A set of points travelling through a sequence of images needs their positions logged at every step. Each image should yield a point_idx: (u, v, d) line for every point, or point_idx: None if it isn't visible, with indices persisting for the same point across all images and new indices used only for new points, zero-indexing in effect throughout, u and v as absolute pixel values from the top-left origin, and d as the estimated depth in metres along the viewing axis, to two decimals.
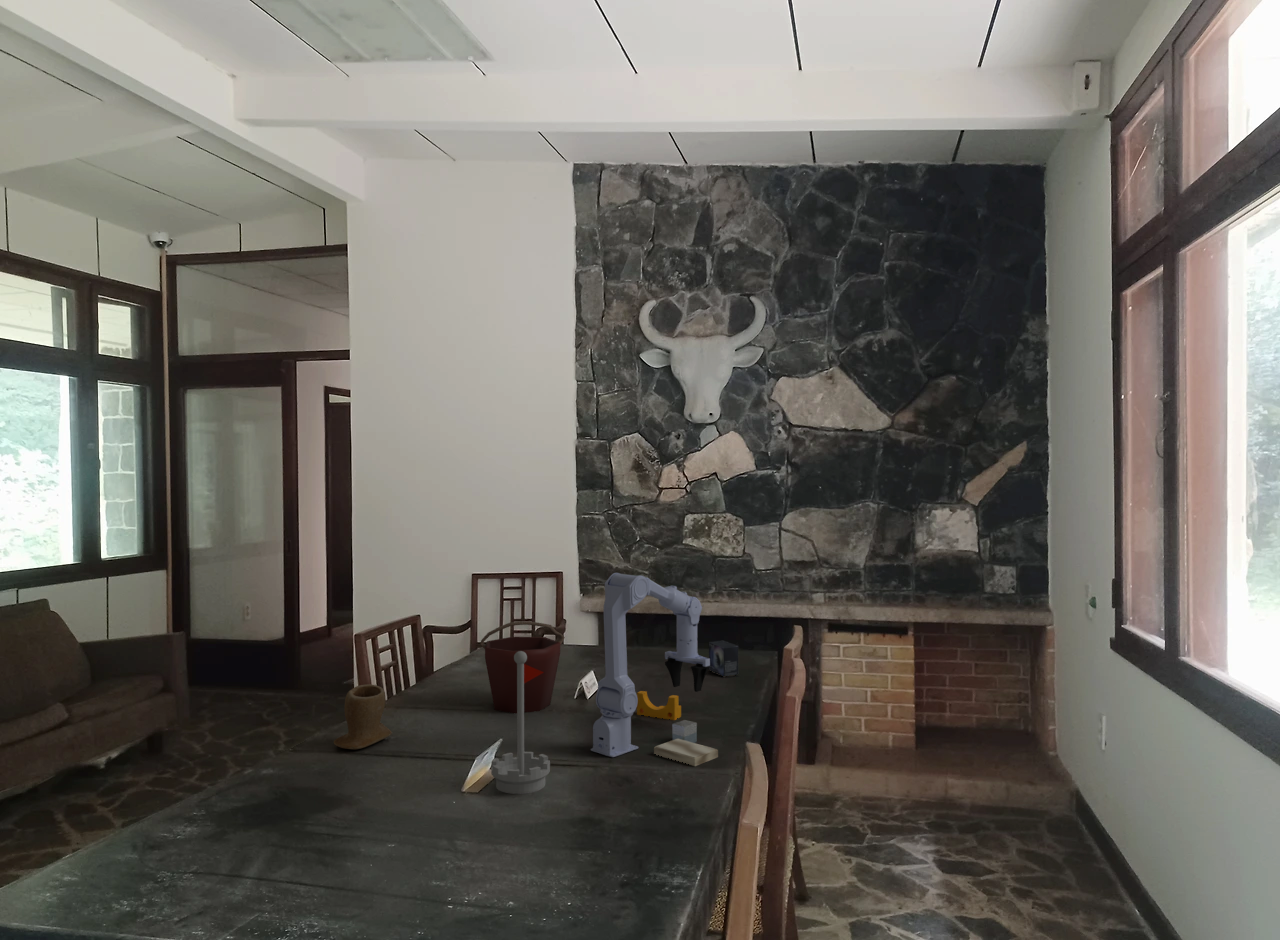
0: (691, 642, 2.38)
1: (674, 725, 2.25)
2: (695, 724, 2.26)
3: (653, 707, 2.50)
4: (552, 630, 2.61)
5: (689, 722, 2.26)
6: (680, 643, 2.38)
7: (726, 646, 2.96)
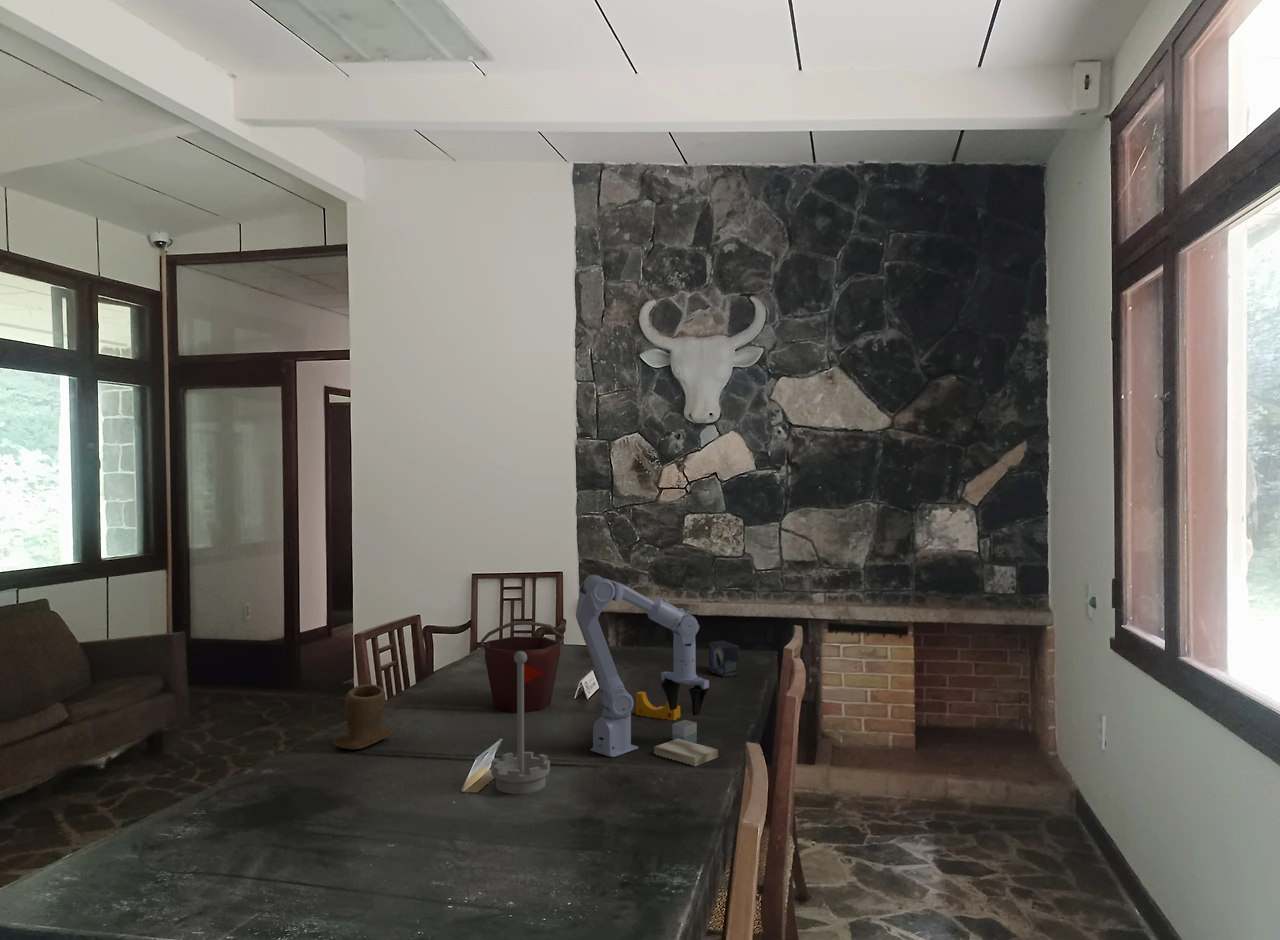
0: (689, 662, 2.23)
1: (674, 725, 2.25)
2: (695, 724, 2.26)
3: (652, 707, 2.49)
4: (552, 630, 2.61)
5: (689, 722, 2.26)
6: (677, 664, 2.24)
7: (726, 646, 2.96)
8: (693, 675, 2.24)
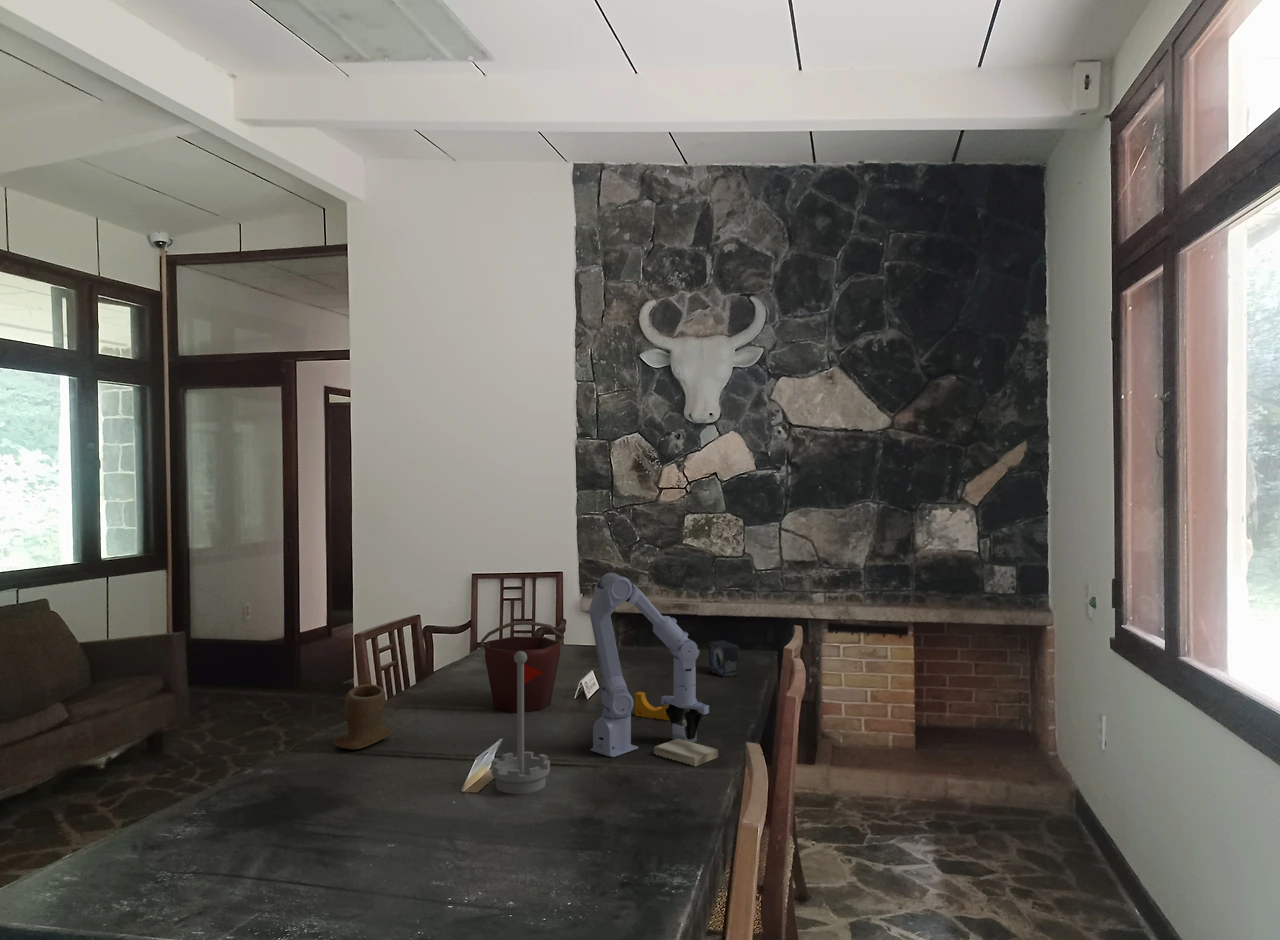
0: (689, 688, 2.23)
1: (674, 725, 2.25)
2: None
3: (651, 708, 2.49)
4: (552, 630, 2.61)
5: None
6: (677, 689, 2.24)
7: (726, 646, 2.96)
8: (693, 700, 2.24)
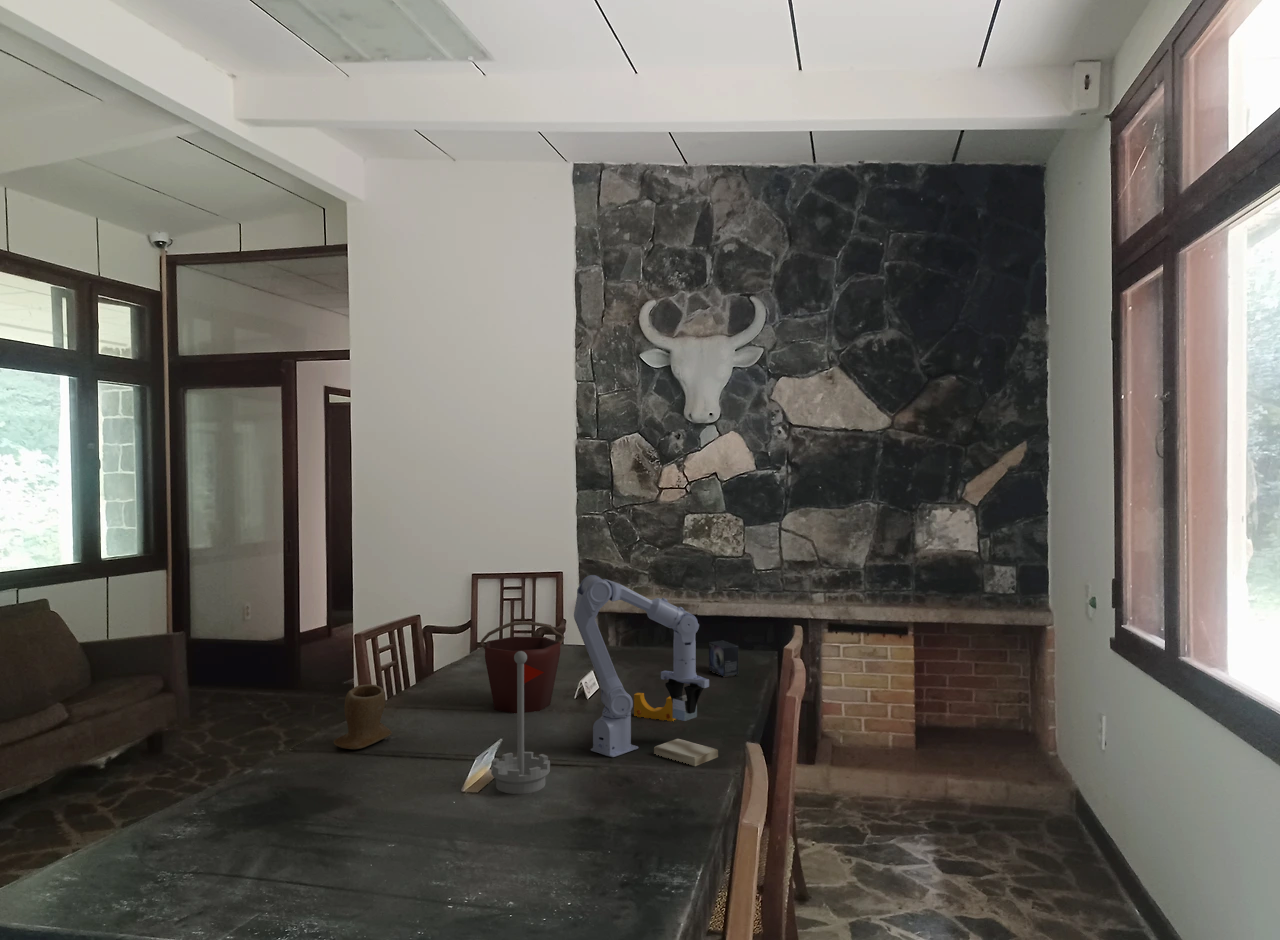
0: (689, 661, 2.22)
1: (674, 700, 2.24)
2: None
3: (650, 708, 2.48)
4: (552, 630, 2.61)
5: None
6: (677, 662, 2.22)
7: (726, 646, 2.96)
8: (693, 674, 2.23)
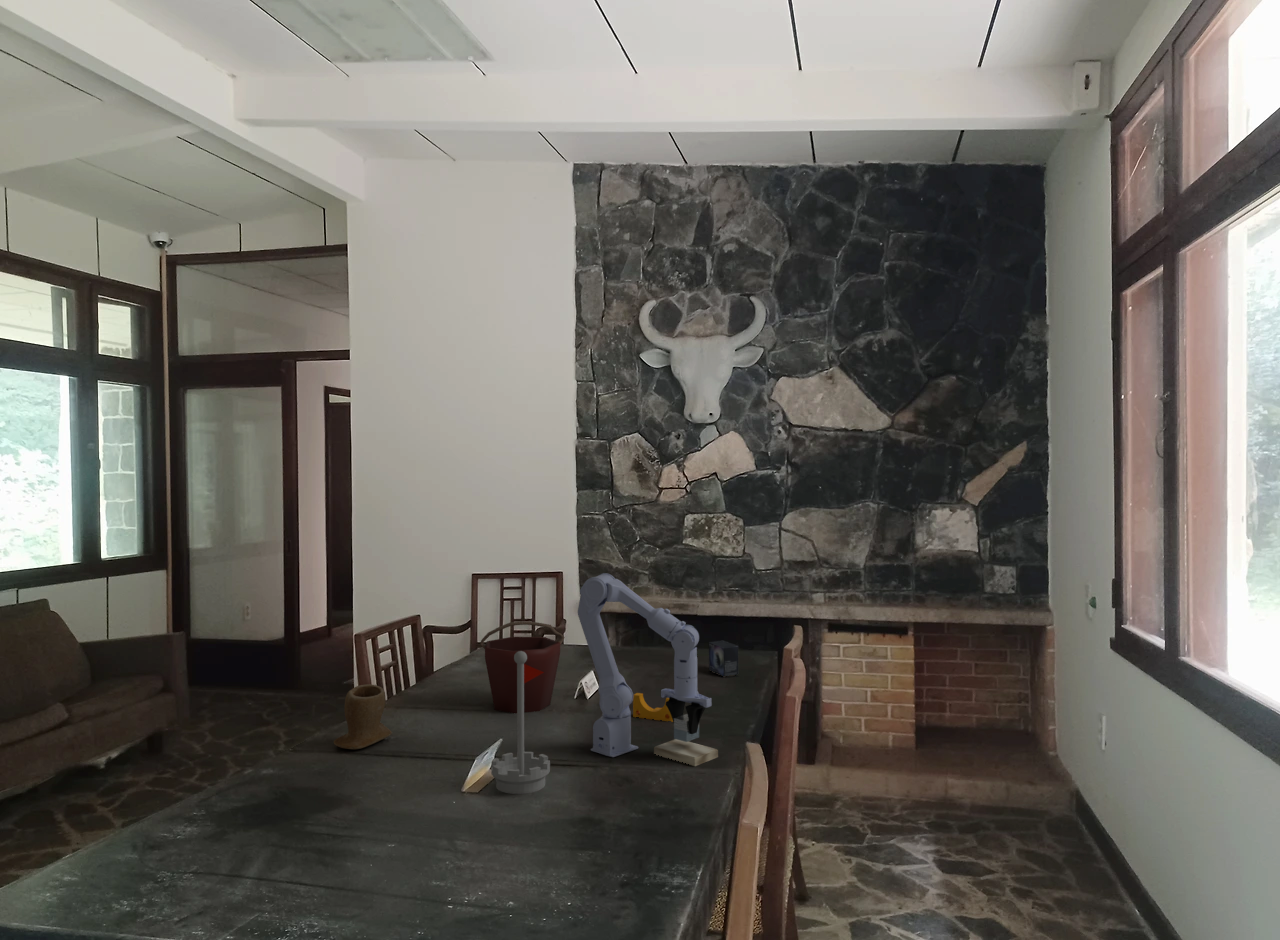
0: (690, 680, 2.12)
1: (676, 719, 2.14)
2: None
3: (649, 709, 2.48)
4: (552, 630, 2.61)
5: None
6: (678, 681, 2.13)
7: (726, 646, 2.96)
8: (695, 693, 2.13)
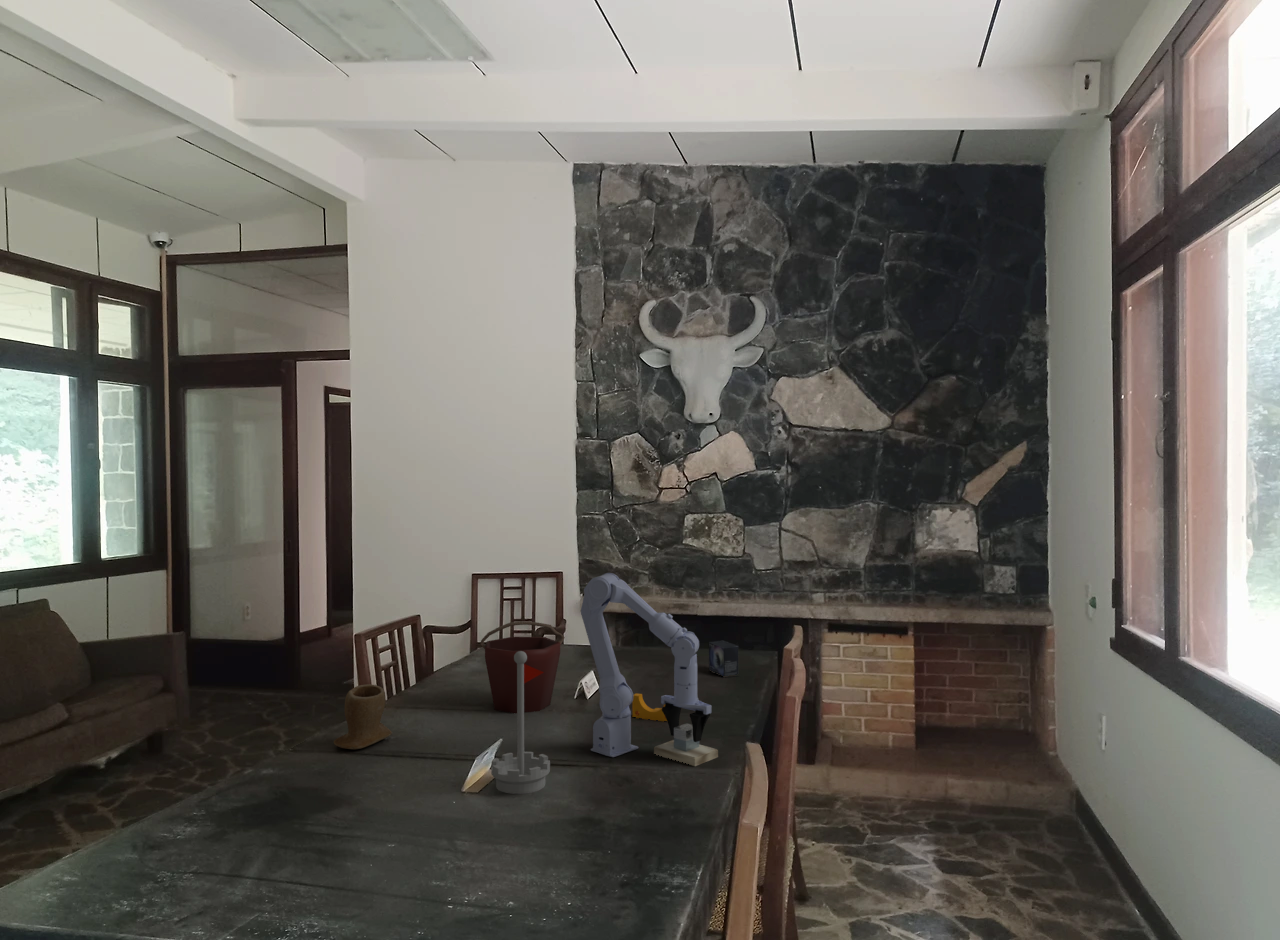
0: (690, 686, 2.12)
1: (675, 729, 2.14)
2: None
3: (648, 709, 2.47)
4: (552, 630, 2.61)
5: (691, 726, 2.16)
6: (678, 687, 2.13)
7: (726, 646, 2.96)
8: (695, 699, 2.13)
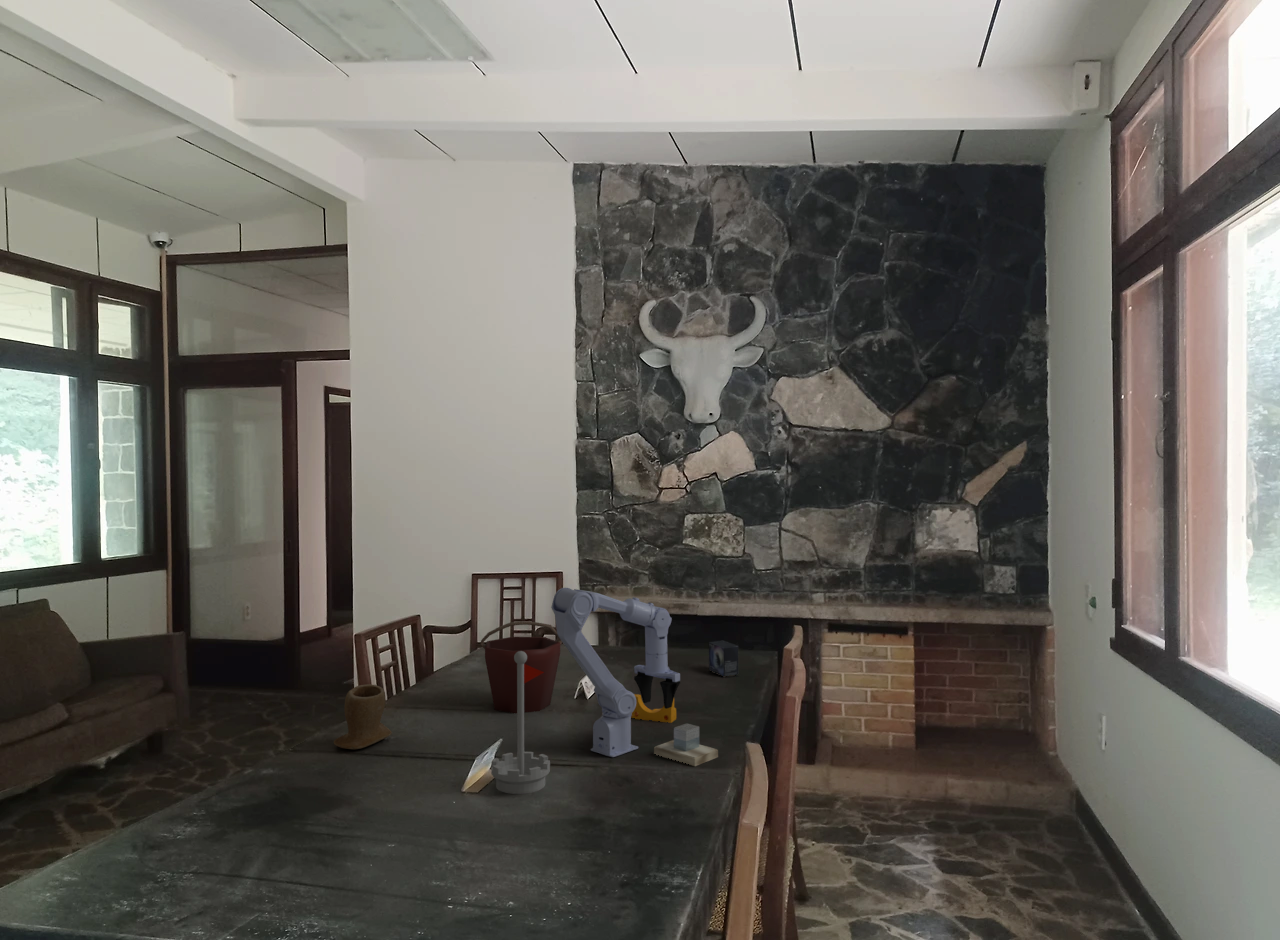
0: (660, 656, 2.24)
1: (675, 729, 2.14)
2: (698, 728, 2.15)
3: (648, 710, 2.47)
4: (552, 630, 2.61)
5: (691, 726, 2.16)
6: (649, 657, 2.25)
7: (726, 646, 2.96)
8: (665, 668, 2.25)
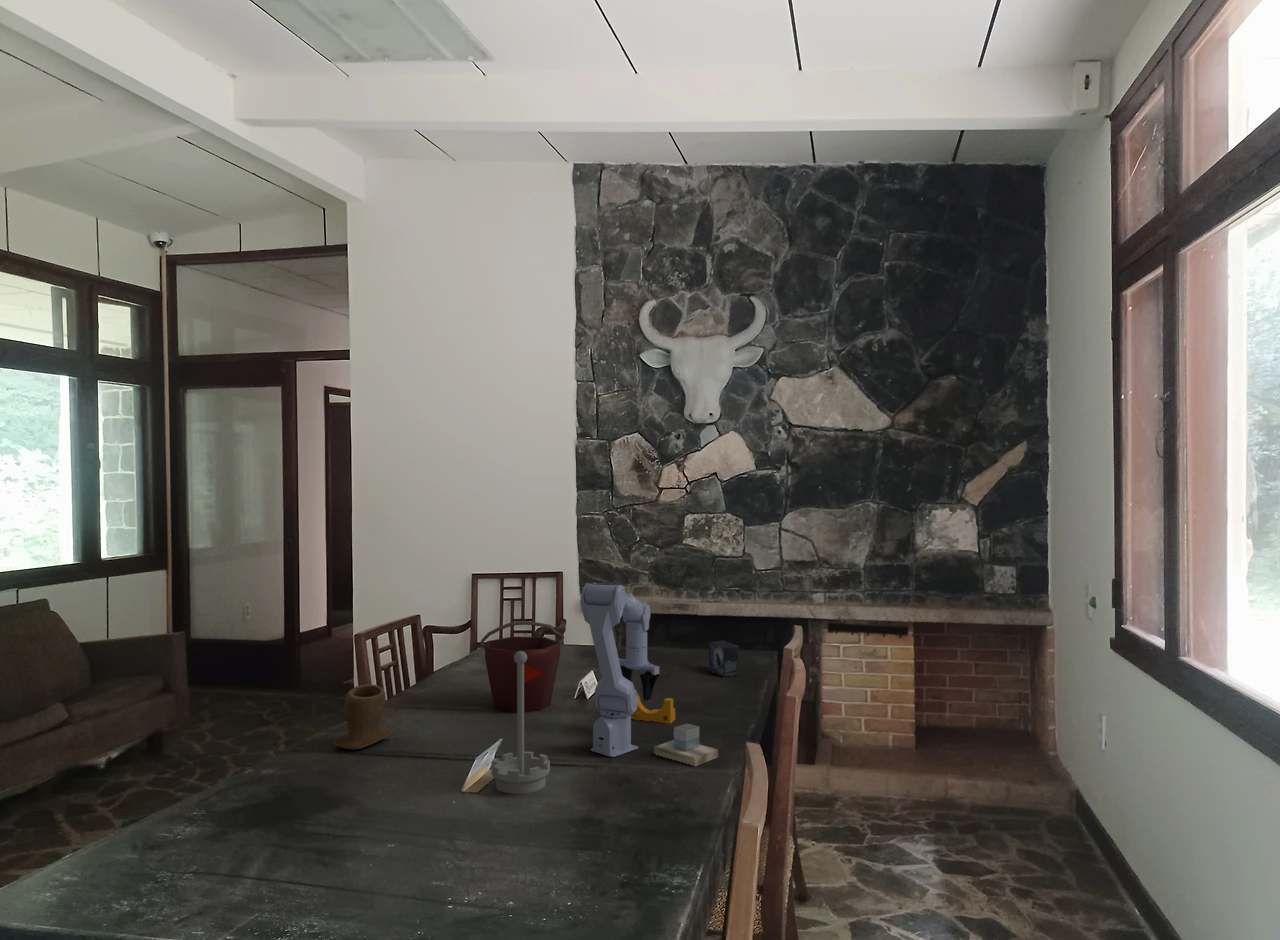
0: (640, 649, 2.32)
1: (675, 729, 2.14)
2: (698, 728, 2.15)
3: (646, 711, 2.46)
4: (552, 630, 2.61)
5: (691, 726, 2.16)
6: (629, 650, 2.32)
7: (726, 646, 2.96)
8: (644, 662, 2.32)
